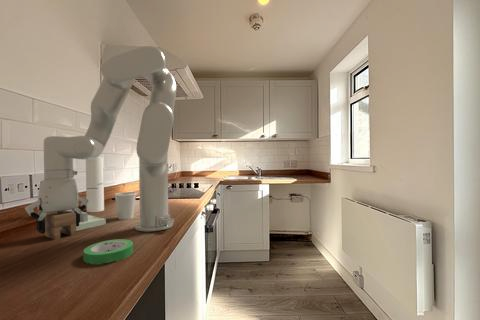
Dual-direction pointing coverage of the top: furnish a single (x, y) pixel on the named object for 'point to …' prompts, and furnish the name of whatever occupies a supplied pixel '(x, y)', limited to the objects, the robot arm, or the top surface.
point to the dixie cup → (125, 204)
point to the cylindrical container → (94, 184)
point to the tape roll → (118, 247)
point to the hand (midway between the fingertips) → (59, 229)
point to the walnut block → (60, 224)
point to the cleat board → (88, 221)
